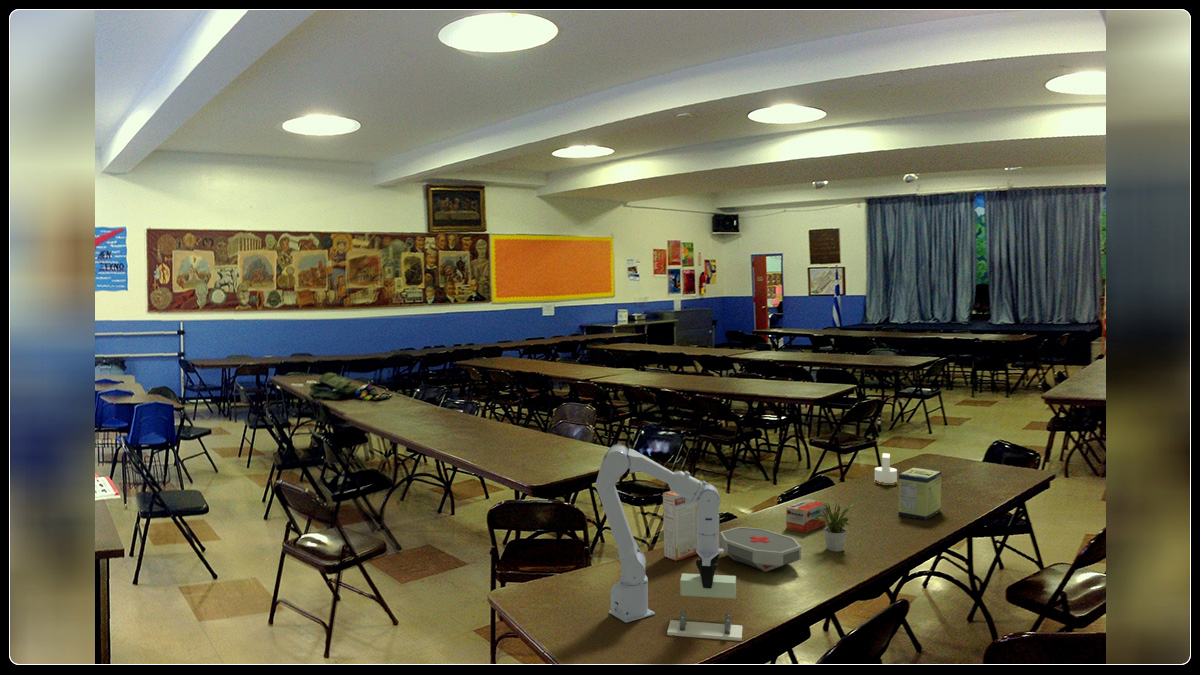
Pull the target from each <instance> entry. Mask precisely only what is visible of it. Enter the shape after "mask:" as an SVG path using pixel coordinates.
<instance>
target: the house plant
mask: <svg viewBox="0 0 1200 675" xmlns="http://www.w3.org/2000/svg"><path fill="white" fill-rule="evenodd" d="M812 502H813V501H812ZM816 503H817V502H816ZM826 503H827V504H828V506H827V504H826ZM819 505H820V504H819ZM824 505H825V507H826V509H825V508H823V507H822V506H821V505H820V506H821V507H822V508H823V510H824V511H826V512H827V513H828V515H827V516H828V518H827V516H826V514H827V513H826V514H825V513H824V512H823V511H822V512H823V514H824V515H825V516H826V518H827V520H828V521H827V520H826V519H825V518H824V517H822V516H820V517H818V518H820V519H823V521H824V522H825V521H826V522H825V525H824V526H825V528H824V529H823V532H824V538H825V544H826V549H827V550H828V551H831V552H837V553H838V552H843V551H845V550H844V548H845V543H846V538H847V532H848V530H847V529H846V528H845V526H848V527H849V528H851V523H849V521H850V518H849V517H845V515H846V514H847V513H848V512H849V511H850V510H851V511H852V510H854V509H850V508H851V507H853V506H854V505H855V503H853V504H850V505H848V506H847V507H846V508H845V509H844V510H843V511H842V513H841V515H840V512H841V507H842V506H843V504H840V503H839V499H837V500H836V503H835V505H834V512H833V513H832V510H831V506H830V504H829V502H825V504H824ZM820 511H821V510H820ZM839 516H840V517H839Z"/></svg>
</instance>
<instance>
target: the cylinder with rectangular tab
mask: <svg viewBox="0 0 1200 675" xmlns="http://www.w3.org/2000/svg"><path fill="white" fill-rule="evenodd" d="M890 465H891V453H888V452H887V453H885V452H883V453H882V456H881V466H877V467H875V468H874V481H875V480H877V481H879V482H884V483H894V482H897V483H898V469H897V468H894V467H891V466H890Z"/></svg>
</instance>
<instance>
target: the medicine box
mask: <svg viewBox="0 0 1200 675" xmlns="http://www.w3.org/2000/svg"><path fill="white" fill-rule="evenodd" d="M812 501H813V502H812ZM816 502H817V503H816ZM825 503H826V504H827V503H828V502H826V501H819V500H816V499H815V500H814V499H810V498H808V499H805V500H802V501H799V502H796V503H793V504H791V505H788V506H786V509H785V510H786V511H785V512H786V514H785V522H786V524H785V525H786V529H788V530H793V531H797V532H801V533H809V532H812V531H813V530H816V529H818V528H821V527H823V526H825V522H826V521H825V522H824V521H823V519H820V518H818V517H820V516H822V517H824V518H825V519H826V520H827V518H828V520H829V517H828V516H829V515H828V513H827V512H826V511H824V510H823V508H825V509H826V507H825V505H824V504H825ZM819 504H820V505H821V506H822V507H823V508H822V507H821V506H820V505H819ZM828 504H829V503H828ZM828 504H827V506H828ZM820 510H821V511H820ZM822 511H823V512H824V513H825V514H826V513H827V514H826V516H827V515H828V516H827V518H826V516H825V515H824V514H823V512H822ZM828 520H827V521H828Z"/></svg>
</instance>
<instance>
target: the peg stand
mask: <svg viewBox="0 0 1200 675" xmlns="http://www.w3.org/2000/svg"><path fill="white" fill-rule="evenodd" d="M743 628H744V627H743V625H739V624H732V615H731V614H730V613H727V614H725V615H724V623H716V622H715V623H714V622H713V623H712V622H702V621H700V622H699V621H687V611H686V610H681V611H680V615H679V620H675V619H670V622H669V625H668V628H667V630H666V631H667V632H666V634H667V636H673V635H674V637H675V636H676V637H677V636H678V637H689V638H701V639H713V640H726V641H735V642H737V641H738V642H742V641H743V640H742V639H743Z"/></svg>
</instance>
